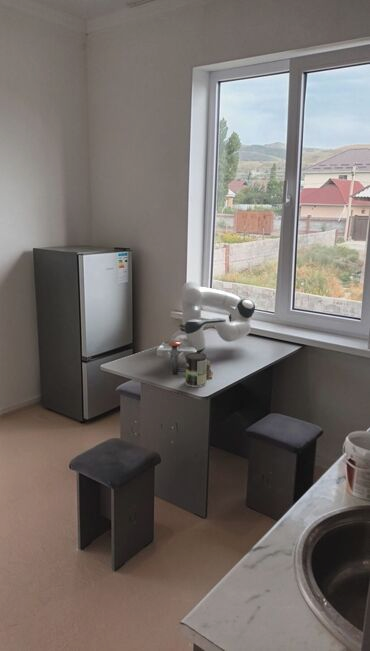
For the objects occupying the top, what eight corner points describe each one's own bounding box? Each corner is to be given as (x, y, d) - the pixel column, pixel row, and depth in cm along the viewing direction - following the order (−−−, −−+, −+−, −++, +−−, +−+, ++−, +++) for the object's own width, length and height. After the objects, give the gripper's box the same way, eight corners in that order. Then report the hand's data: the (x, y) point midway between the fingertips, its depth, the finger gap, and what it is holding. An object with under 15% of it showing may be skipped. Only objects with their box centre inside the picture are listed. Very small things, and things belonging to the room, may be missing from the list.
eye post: (197, 378, 249) (197, 365, 247) (199, 373, 257) (199, 360, 255) (211, 378, 248) (211, 365, 246) (212, 373, 256) (213, 360, 254)
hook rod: (167, 375, 252) (167, 343, 248) (169, 371, 258) (169, 340, 254) (210, 377, 249) (210, 345, 245) (211, 373, 255) (211, 341, 251)
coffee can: (186, 387, 237) (186, 359, 233) (184, 379, 247) (184, 352, 243) (207, 386, 238) (208, 358, 234) (205, 379, 248) (205, 352, 244)
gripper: (197, 355, 264) (194, 363, 250) (159, 353, 266) (154, 361, 253) (197, 343, 262) (194, 351, 249) (159, 342, 265) (154, 349, 251)
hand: (174, 356), depth 251 cm, fingers closed on hook rod, 3 cm apart
